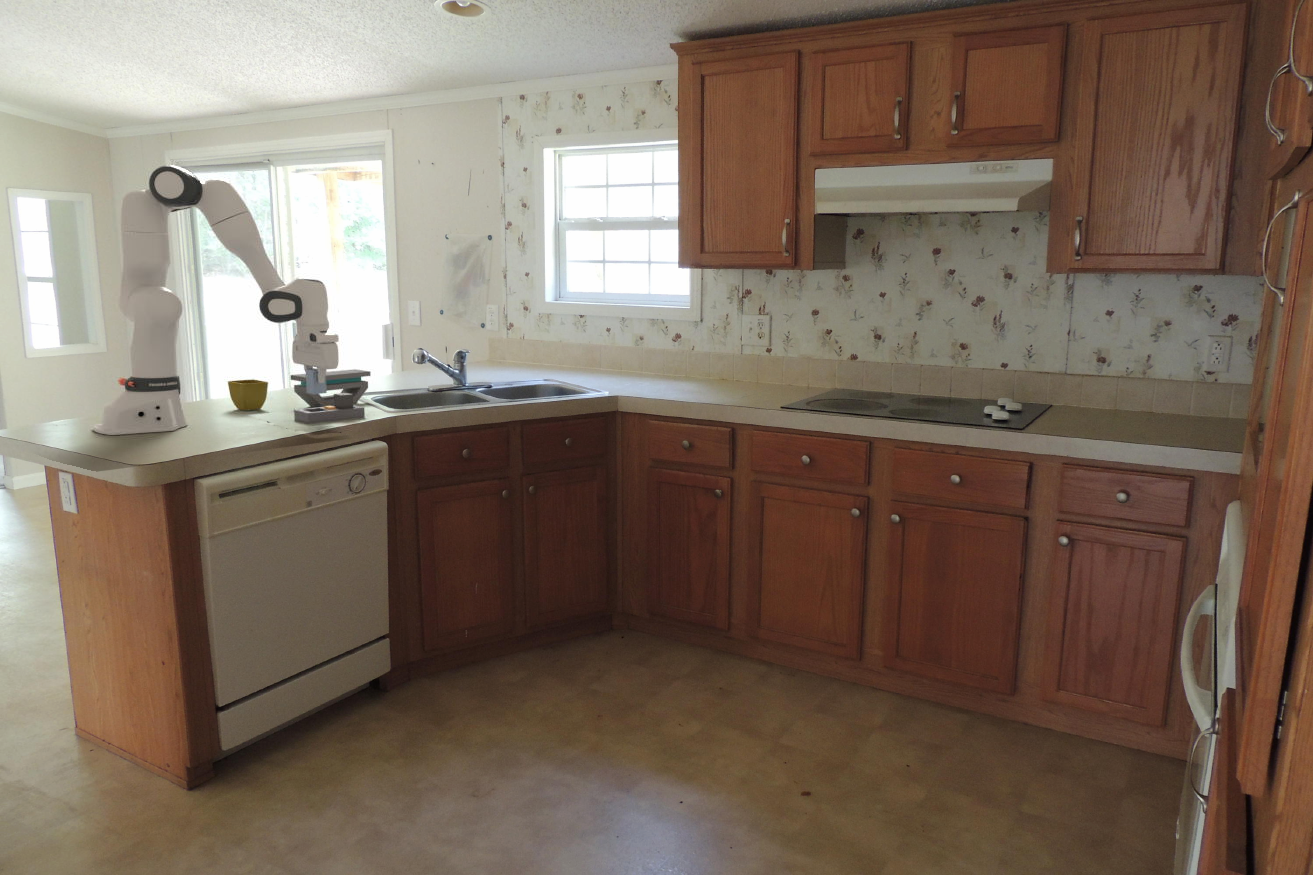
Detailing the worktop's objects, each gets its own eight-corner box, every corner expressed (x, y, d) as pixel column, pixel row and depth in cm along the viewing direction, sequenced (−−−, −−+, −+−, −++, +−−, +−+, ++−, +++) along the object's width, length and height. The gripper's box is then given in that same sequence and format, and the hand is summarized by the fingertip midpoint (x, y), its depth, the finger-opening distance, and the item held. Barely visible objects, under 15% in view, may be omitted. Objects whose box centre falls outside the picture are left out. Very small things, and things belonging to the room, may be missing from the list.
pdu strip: (308, 427, 255) (307, 411, 255) (294, 423, 261) (294, 407, 260) (364, 420, 269) (364, 405, 268) (350, 417, 274) (350, 402, 273)
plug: (313, 394, 257) (312, 370, 256) (306, 392, 260) (305, 369, 258) (326, 393, 260) (325, 369, 259) (319, 391, 263) (318, 367, 261)
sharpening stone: (356, 400, 306) (355, 369, 304) (371, 403, 302) (370, 371, 300) (291, 408, 286) (290, 375, 284) (307, 411, 282) (305, 377, 280)
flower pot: (254, 406, 287) (253, 378, 285) (270, 409, 282) (268, 381, 281) (228, 409, 280) (226, 381, 278) (243, 412, 275) (242, 383, 273)
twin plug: (341, 418, 265) (340, 395, 264) (334, 416, 268) (333, 393, 266) (353, 417, 268) (352, 394, 267) (346, 415, 271) (345, 392, 269)
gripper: (285, 332, 261) (287, 378, 264) (321, 337, 248) (323, 386, 251) (305, 331, 265) (308, 377, 268) (341, 336, 252) (343, 384, 255)
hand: (315, 381), depth 259 cm, fingers closed on plug, 4 cm apart
